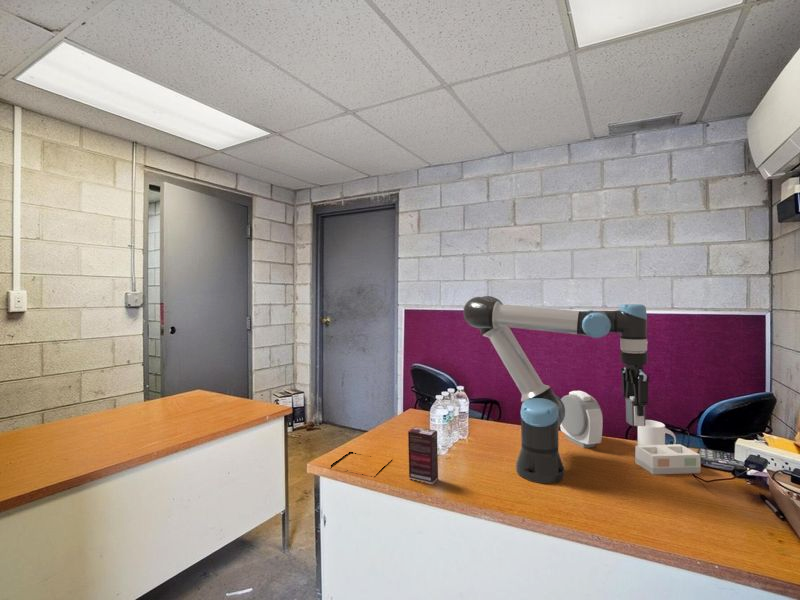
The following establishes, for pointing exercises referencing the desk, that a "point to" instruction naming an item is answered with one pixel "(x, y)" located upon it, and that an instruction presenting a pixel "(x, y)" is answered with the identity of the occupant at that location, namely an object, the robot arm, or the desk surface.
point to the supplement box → (423, 455)
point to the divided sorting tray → (667, 459)
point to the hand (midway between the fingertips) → (635, 422)
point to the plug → (631, 410)
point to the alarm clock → (582, 419)
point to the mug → (653, 433)
